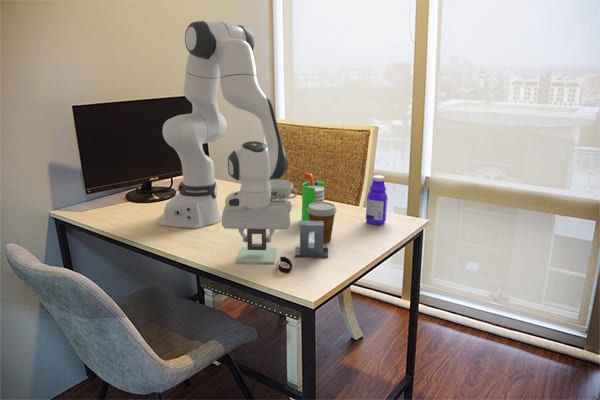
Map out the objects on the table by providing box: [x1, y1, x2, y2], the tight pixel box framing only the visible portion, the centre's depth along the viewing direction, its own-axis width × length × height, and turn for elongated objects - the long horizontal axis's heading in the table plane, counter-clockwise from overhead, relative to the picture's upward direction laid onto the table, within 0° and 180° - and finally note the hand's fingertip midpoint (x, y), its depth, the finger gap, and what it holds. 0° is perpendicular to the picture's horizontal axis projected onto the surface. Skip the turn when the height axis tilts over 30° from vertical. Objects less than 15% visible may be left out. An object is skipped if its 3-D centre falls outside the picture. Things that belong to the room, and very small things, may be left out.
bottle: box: [365, 174, 388, 226], centre depth 172 cm, size 7×6×17 cm
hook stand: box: [294, 220, 329, 259], centre depth 142 cm, size 10×15×10 cm, turn 178°
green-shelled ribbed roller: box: [301, 172, 325, 221], centre depth 172 cm, size 9×8×18 cm
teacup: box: [269, 179, 298, 200], centre depth 196 cm, size 15×12×8 cm
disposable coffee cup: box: [307, 201, 337, 245], centre depth 156 cm, size 10×10×12 cm
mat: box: [235, 246, 278, 265], centre depth 146 cm, size 11×11×1 cm
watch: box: [275, 256, 293, 274], centre depth 137 cm, size 8×5×4 cm, turn 4°
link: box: [246, 229, 267, 250], centre depth 144 cm, size 6×2×6 cm, turn 88°
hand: (256, 241), depth 144 cm, fingers closed on link, 5 cm apart
